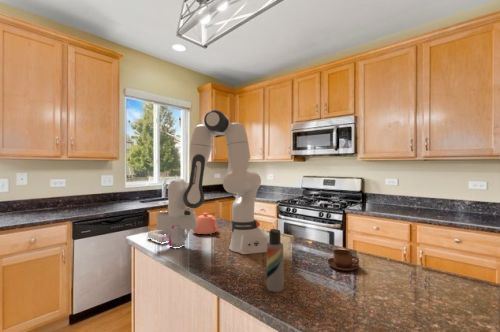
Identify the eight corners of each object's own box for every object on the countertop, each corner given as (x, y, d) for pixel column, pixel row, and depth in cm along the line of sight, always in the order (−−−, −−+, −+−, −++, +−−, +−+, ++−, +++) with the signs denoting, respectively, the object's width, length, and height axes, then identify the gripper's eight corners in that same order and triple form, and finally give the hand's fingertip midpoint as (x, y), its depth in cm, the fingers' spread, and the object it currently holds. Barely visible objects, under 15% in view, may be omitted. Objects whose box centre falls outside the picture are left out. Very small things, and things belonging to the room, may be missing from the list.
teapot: (183, 232, 161) (182, 212, 161) (201, 227, 173) (201, 209, 173) (207, 238, 148) (207, 216, 148) (225, 232, 160) (225, 212, 160)
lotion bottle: (273, 282, 92) (272, 226, 92) (286, 287, 88) (286, 229, 88) (263, 288, 87) (263, 230, 87) (277, 294, 84) (277, 232, 84)
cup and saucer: (356, 263, 110) (356, 248, 110) (360, 274, 98) (360, 258, 98) (327, 260, 113) (327, 246, 113) (327, 271, 102) (327, 255, 102)
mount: (171, 234, 158) (171, 226, 158) (185, 238, 148) (185, 230, 148) (147, 239, 146) (147, 231, 146) (161, 244, 137) (161, 235, 137)
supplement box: (185, 246, 134) (185, 224, 134) (176, 249, 129) (176, 226, 129) (177, 244, 137) (177, 223, 137) (168, 247, 132) (168, 225, 132)
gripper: (154, 212, 129) (154, 240, 129) (195, 211, 130) (196, 239, 130) (158, 210, 135) (158, 236, 135) (197, 209, 136) (197, 235, 137)
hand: (177, 238), depth 133 cm, fingers closed on supplement box, 8 cm apart
